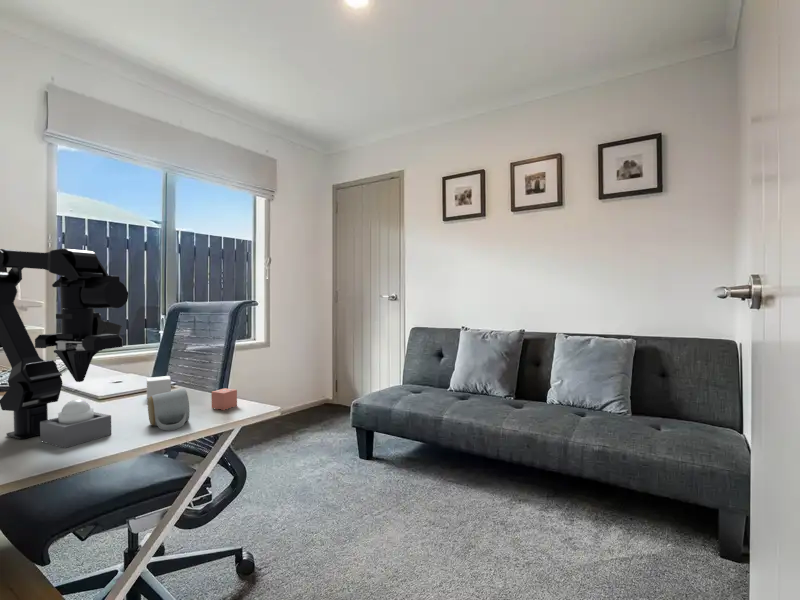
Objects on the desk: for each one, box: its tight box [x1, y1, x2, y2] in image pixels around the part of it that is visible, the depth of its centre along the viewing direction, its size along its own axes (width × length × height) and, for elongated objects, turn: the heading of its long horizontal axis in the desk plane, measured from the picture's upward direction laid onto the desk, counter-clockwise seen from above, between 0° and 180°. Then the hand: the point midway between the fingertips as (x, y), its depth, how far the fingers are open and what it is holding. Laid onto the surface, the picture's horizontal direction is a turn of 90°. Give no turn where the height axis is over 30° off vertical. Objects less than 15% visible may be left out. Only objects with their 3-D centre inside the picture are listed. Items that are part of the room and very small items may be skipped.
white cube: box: [146, 375, 172, 403], centre depth 127 cm, size 6×6×6 cm
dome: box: [57, 398, 94, 425], centre depth 92 cm, size 6×6×5 cm
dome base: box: [39, 411, 112, 449], centre depth 92 cm, size 9×9×4 cm
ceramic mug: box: [147, 388, 191, 431], centre depth 101 cm, size 11×8×8 cm
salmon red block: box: [211, 387, 238, 411], centre depth 116 cm, size 4×4×5 cm
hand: (79, 381), depth 92 cm, fingers closed
